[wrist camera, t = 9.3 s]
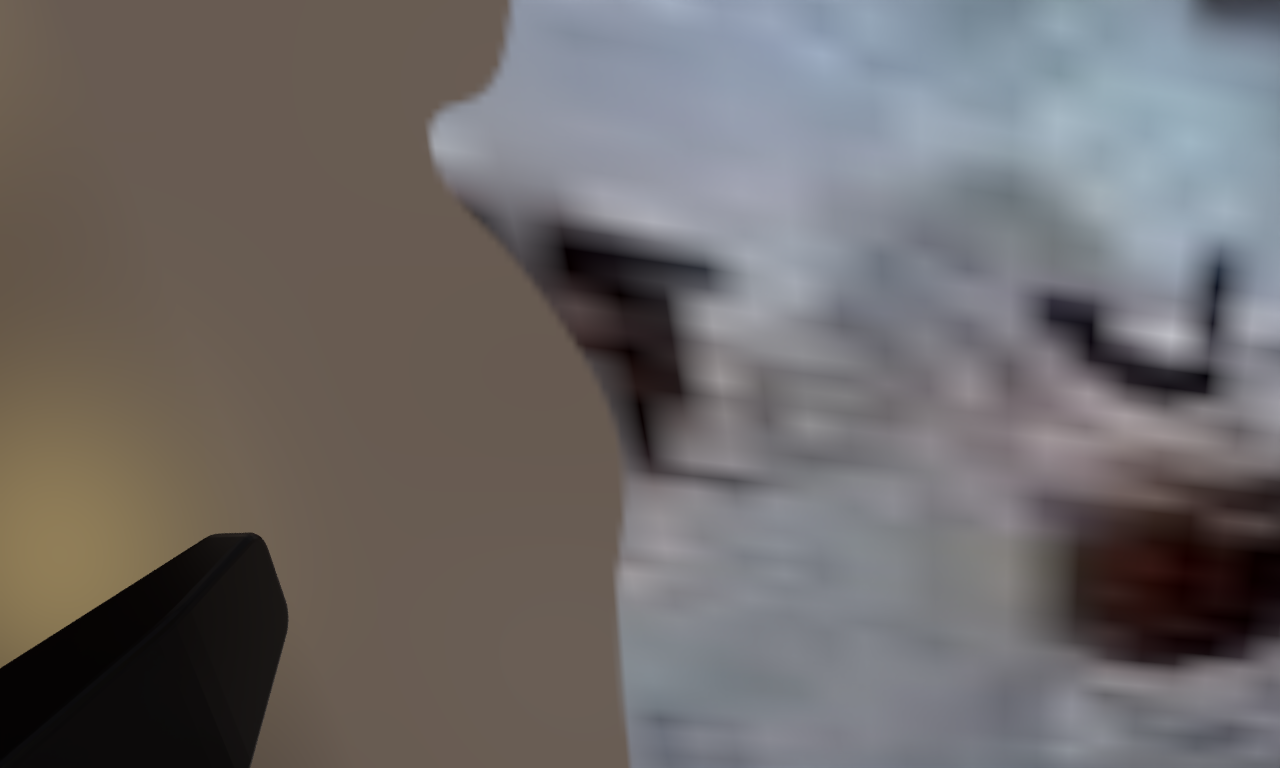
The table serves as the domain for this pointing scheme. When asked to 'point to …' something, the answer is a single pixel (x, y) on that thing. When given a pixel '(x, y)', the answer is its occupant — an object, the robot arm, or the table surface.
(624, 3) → the table surface
